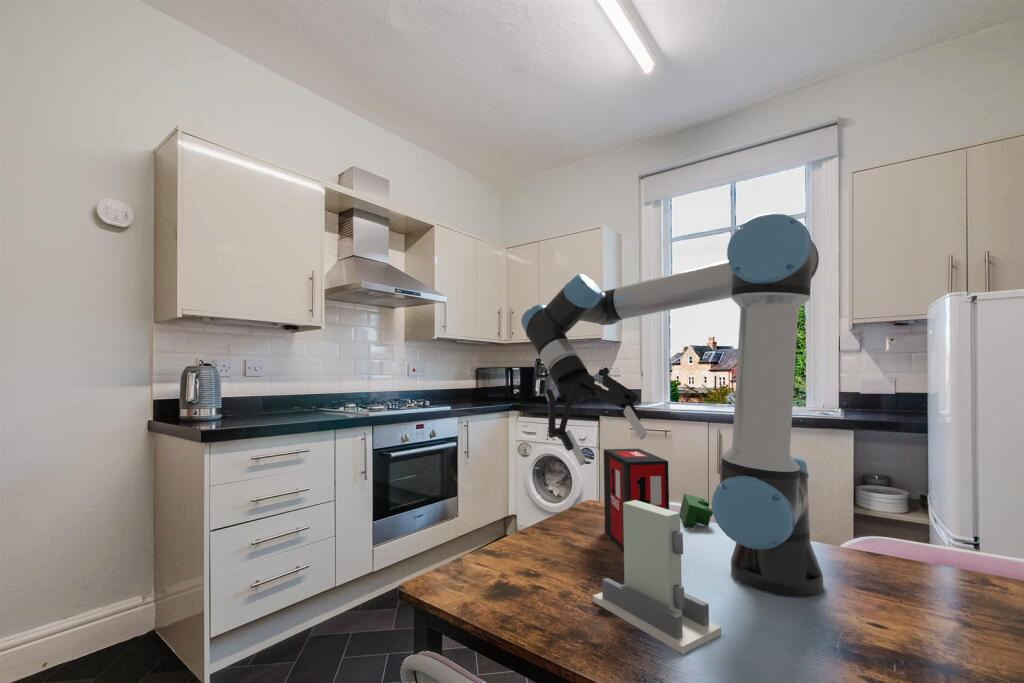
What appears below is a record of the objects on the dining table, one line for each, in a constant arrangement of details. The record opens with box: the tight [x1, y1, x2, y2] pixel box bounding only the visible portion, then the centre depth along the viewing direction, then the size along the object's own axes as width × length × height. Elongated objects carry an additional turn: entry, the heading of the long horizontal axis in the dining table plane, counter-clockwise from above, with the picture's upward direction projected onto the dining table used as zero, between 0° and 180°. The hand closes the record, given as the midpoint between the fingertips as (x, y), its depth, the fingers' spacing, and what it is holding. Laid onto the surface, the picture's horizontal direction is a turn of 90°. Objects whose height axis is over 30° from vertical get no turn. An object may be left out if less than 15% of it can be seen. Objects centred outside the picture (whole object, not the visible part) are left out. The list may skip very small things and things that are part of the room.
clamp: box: [679, 493, 714, 528], centre depth 123 cm, size 12×6×9 cm, turn 161°
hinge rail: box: [592, 577, 723, 655], centre depth 75 cm, size 18×9×4 cm, turn 33°
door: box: [623, 500, 685, 615], centre depth 75 cm, size 10×3×16 cm, turn 33°
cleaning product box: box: [603, 448, 670, 554], centre depth 108 cm, size 16×9×20 cm, turn 7°
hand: (614, 449), depth 92 cm, fingers open, 13 cm apart
